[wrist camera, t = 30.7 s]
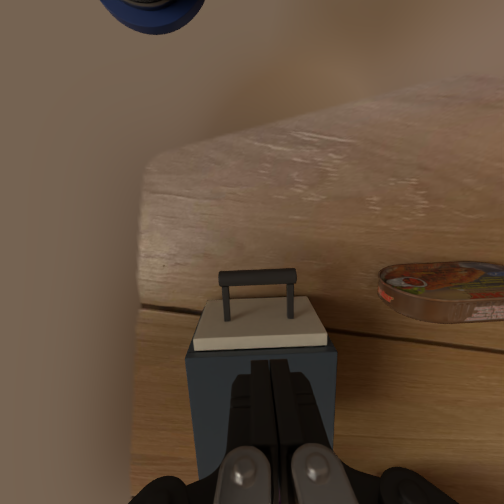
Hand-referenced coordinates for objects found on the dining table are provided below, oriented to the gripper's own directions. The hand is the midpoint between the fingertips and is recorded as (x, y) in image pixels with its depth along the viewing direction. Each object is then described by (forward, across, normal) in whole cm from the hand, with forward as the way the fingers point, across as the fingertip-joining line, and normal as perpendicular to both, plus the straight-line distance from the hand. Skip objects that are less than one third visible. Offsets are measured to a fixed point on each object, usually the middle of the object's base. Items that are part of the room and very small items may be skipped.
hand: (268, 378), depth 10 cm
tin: (+19, -20, +3) cm, 28 cm away
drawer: (+18, 0, +9) cm, 20 cm away
